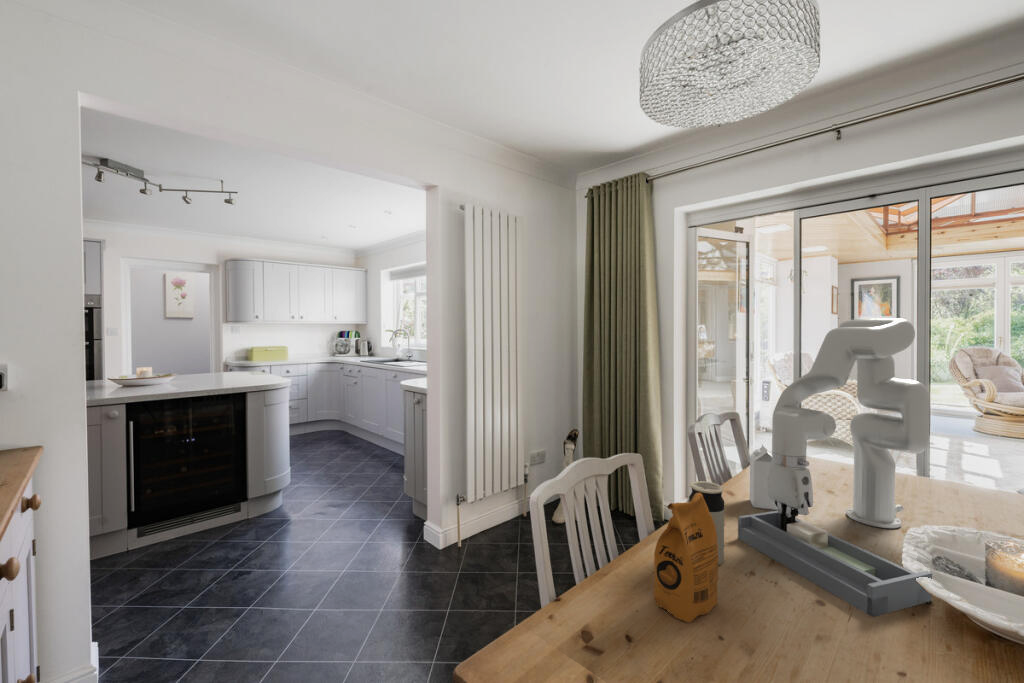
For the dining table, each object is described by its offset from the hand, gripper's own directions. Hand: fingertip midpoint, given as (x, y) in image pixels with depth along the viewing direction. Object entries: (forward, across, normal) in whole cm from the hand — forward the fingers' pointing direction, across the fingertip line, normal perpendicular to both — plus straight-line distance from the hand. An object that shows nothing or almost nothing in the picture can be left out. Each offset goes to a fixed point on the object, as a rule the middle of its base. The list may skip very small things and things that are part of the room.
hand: (787, 529), depth 114 cm
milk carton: (+5, +24, -17) cm, 30 cm away
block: (+1, -5, 0) cm, 5 cm away
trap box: (+5, -9, 0) cm, 10 cm away
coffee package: (+5, -13, +41) cm, 43 cm away
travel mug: (+5, +2, +24) cm, 25 cm away
